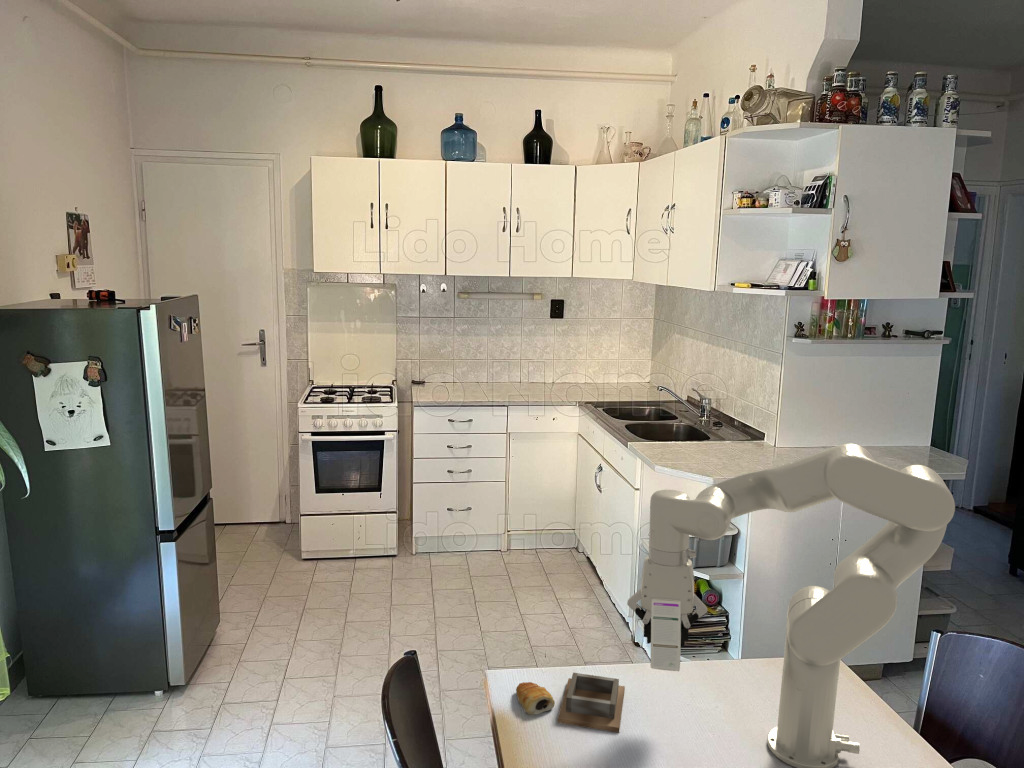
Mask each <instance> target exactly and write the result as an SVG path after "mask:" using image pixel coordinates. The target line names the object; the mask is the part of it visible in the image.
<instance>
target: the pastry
mask: <svg viewBox="0 0 1024 768" xmlns="http://www.w3.org/2000/svg"><path fill="white" fill-rule="evenodd" d="M515 690H516V691H515V692H516V696H517V699H518V700H517V701H518V703H519V705H521V707H522V709H523V710H524V712H525V713H526V714H528V715H529V716H536V715H539V714H540V715H541V714H542V713H544V712H548V711H551V710H552V709H553V708H554V706H555V700H554V697H553V696H552V694H551V693H550V692H549V691H548V690H547V689H546V688H545V687H543V686H540V685H538V684H537V683H534V682H530V681H529V682H520V683H519V684H518V685H517V686H516V688H515Z"/></svg>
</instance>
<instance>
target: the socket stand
mask: <svg viewBox="0 0 1024 768" xmlns="http://www.w3.org/2000/svg"><path fill="white" fill-rule="evenodd" d="M619 682H620V678H616V677H615V678H613V677H609V676H608V677H607V676H602V675H600V676H599V675H593V674H586V673H579V672H572V676H571V677H570V678H568V679H567V683H566V687H565V691H564V694H563V698H562V702H561V705H560V709H559V712H558V717H557V724H561V725H562V724H563V725H569V726H576V727H580V728H589V729H595V730H600V731H601V730H602V731H607V732H614V733H620V728H621V720H622V712H623V706H624V697H625V689H626V686H625V685H619V684H620V683H619Z"/></svg>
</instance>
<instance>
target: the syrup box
mask: <svg viewBox="0 0 1024 768" xmlns="http://www.w3.org/2000/svg"><path fill="white" fill-rule="evenodd" d="M681 622H682V619H681V601H680V600H674V599H662V598H654V599H651V643H650V668H651V669H654V670H661V671H671V672H680V671H681V670H680V669H681V649H682V646H681Z"/></svg>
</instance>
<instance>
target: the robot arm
mask: <svg viewBox="0 0 1024 768" xmlns="http://www.w3.org/2000/svg"><path fill="white" fill-rule="evenodd" d="M835 499H837V500H838V501H840V502H842V503H844V504H845V505H848V506H850V507H853V508H855V509H857V510H860V511H862V512H865V513H867V514H870V515H872V516H875V517H878V518H881V519H884V520H886V521H887V523H886V524H885V525H884V526H883V527H882V528H881V529H880V530H879V531H878V532H876V533H875V534H874V535H873V536H872V537H870V538H869V539H868V540H867V541H866V542H865V543H863V544H861V546H859V547H858V548H857V549H855V550H854V551H853V552H852V553H850V554H849V555H848V556H847V557H845V558H844V559H843V560H841V561H840V562H839V563H838V564H837V566H836V568H835V569H834V573H833V586H834V587H833V588H832V589H830V590H829V589H828V588H825V587H823V586H818V585H808V586H805V587H802V588H800V589H799V590H797V591H796V592H795V593H794V594H793V595H792V596H791V598H790V600H789V603H788V605H787V613H786V626H785V627H786V628H785V642H784V652H783V662H782V663H783V665H782V675H781V682H780V683H781V686H780V695H779V705H778V716H777V717H778V718H777V725H776V726H775V727H774V728H772V729H771V730H770V731H769V733H768V734H767V740H766V741H767V746H768V748H769V750H770V752H771V753H772V754H773V755H774V756H775V757H776V758H778V759H779V760H780V761H782V762H784V763H785V764H787V765H789V766H792V767H794V768H834V767H836V766H837V765H838V763H839V760H840V753H842V752H847V753H852V754H858V755H859V754H860V743H859V742H856V741H850V735H849V734H843V733H836V732H835V731H834V730H833V729H834V720H835V710H836V701H837V691H838V684H839V683H838V682H839V676H840V664H841V659H843V658H844V657H845V656H847V655H848V654H850V653H851V652H853V651H854V650H856V649H857V648H858V647H859V646H861V645H862V644H863V643H865V642H866V641H868V640H869V639H871V637H872V636H874V635H876V634H877V633H878V632H880V630H882V629H883V628H885V626H886V625H887V624H888V623H889V622H890V621H891V620H892V618H893V616H894V615H895V613H896V610H897V608H898V607H897V606H898V594H897V589H898V587H899V586H901V585H902V583H904V582H905V581H906V580H907V579H909V578H910V577H911V576H912V575H913V574H915V572H917V571H918V570H919V569H920V568H921V567H923V566H924V565H925V564H926V563H927V562H928V561H929V560H930V559H932V557H933V556H934V555H935V553H936V552H937V551H938V549H939V547H940V545H941V544H942V541H943V540H944V537H945V534H946V530H947V526H948V524H949V523H950V522H951V521H952V519H953V517H954V515H955V511H956V503H955V498H954V497H953V494H952V492H951V490H950V489H949V488H948V486H947V484H946V482H945V481H944V480H943V478H942V477H941V476H940V475H939V474H938V473H937V472H936V471H935V470H934V469H932V468H930V467H928V466H925V465H922V464H912V465H908V466H905V467H904V468H901V469H900V470H898V469H895V468H893V467H889V466H887V465H885V464H883V463H880V462H878V461H876V460H875V458H874V457H873V455H872V454H871V452H869V451H868V450H867V449H866V448H865V447H864V446H862V445H859V444H856V443H843V444H839V445H836V446H833V447H830V448H827V449H825V450H822V451H819V452H815V453H813V454H810V455H808V456H804V457H802V458H798V459H796V460H794V461H790V462H788V463H784V464H781V465H779V466H776V467H772V468H767V469H763V470H762V469H761V470H759V471H754V472H753V471H752V472H749V473H745V474H741V475H737V476H735V477H732V478H729V479H726V480H723V481H720V482H718V483H715V484H712V485H709V486H707V487H705V488H704V489H703V490H702V491H700V492H699V493H698V494H697V496H696V498H695V499H690V497H689V496H688V494H687V493H685V492H682V491H680V490H677V489H661V490H656V491H654V492H653V494H652V495H651V497H650V503H649V504H650V505H649V538H648V540H649V541H648V555H647V556H645V558H644V561H643V567H642V573H641V583H640V589H638V590H637V591H636V592H635V593H634V594H633V595H632V596H630V598H628V599H627V606H628V607H629V608H630V609H631V610H632V611H633V612H634V613H635V615H636V616H637V617H638V618H639V619H640V620H641V621H642V623H643V638H646V644H650V645H651V599H654V598H662V599H674V600H680V601H681V648H685V642H689V630H690V628H691V626H692V625H693V624H694V623H696V622H697V621H698V620H699V619H700V618H702V617H703V616H704V615H706V614H707V612H708V606H706V604H705V603H704V602H703V601H702V600H701V599H700V598H699V597H698V596H697V594H696V593H695V576H694V567H693V561H692V560H691V559H693V558H697V550H693V549H691V547H690V536H692V537H694V538H695V537H696V538H698V539H702V540H708V541H714V540H718V539H720V538H722V537H724V536H725V535H726V534H727V532H728V530H729V529H730V525H731V522H732V519H735V518H737V517H740V516H743V515H746V514H747V515H748V514H750V513H753V512H758V511H762V510H777V511H781V512H785V513H796V512H799V511H802V510H806V509H809V508H810V507H814V506H817V505H820V504H823V503H826V502H829V501H833V500H835ZM639 601H640V605H639V603H638V602H639ZM694 607H696V610H694Z"/></svg>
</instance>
